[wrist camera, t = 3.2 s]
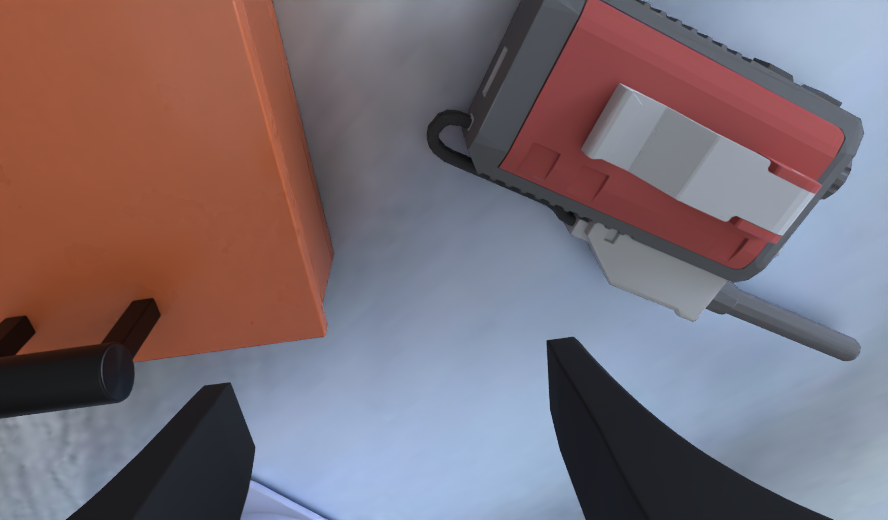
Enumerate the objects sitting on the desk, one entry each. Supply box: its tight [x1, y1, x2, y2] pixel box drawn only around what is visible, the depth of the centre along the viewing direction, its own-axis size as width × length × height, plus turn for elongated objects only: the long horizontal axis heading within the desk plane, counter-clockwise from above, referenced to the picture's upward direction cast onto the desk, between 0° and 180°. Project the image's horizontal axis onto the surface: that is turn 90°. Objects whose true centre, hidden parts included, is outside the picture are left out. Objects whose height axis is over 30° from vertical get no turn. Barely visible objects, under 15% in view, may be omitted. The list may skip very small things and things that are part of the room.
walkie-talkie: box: [427, 0, 864, 361], centre depth 20 cm, size 9×4×20 cm
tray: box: [241, 0, 334, 303], centre depth 19 cm, size 11×14×4 cm
